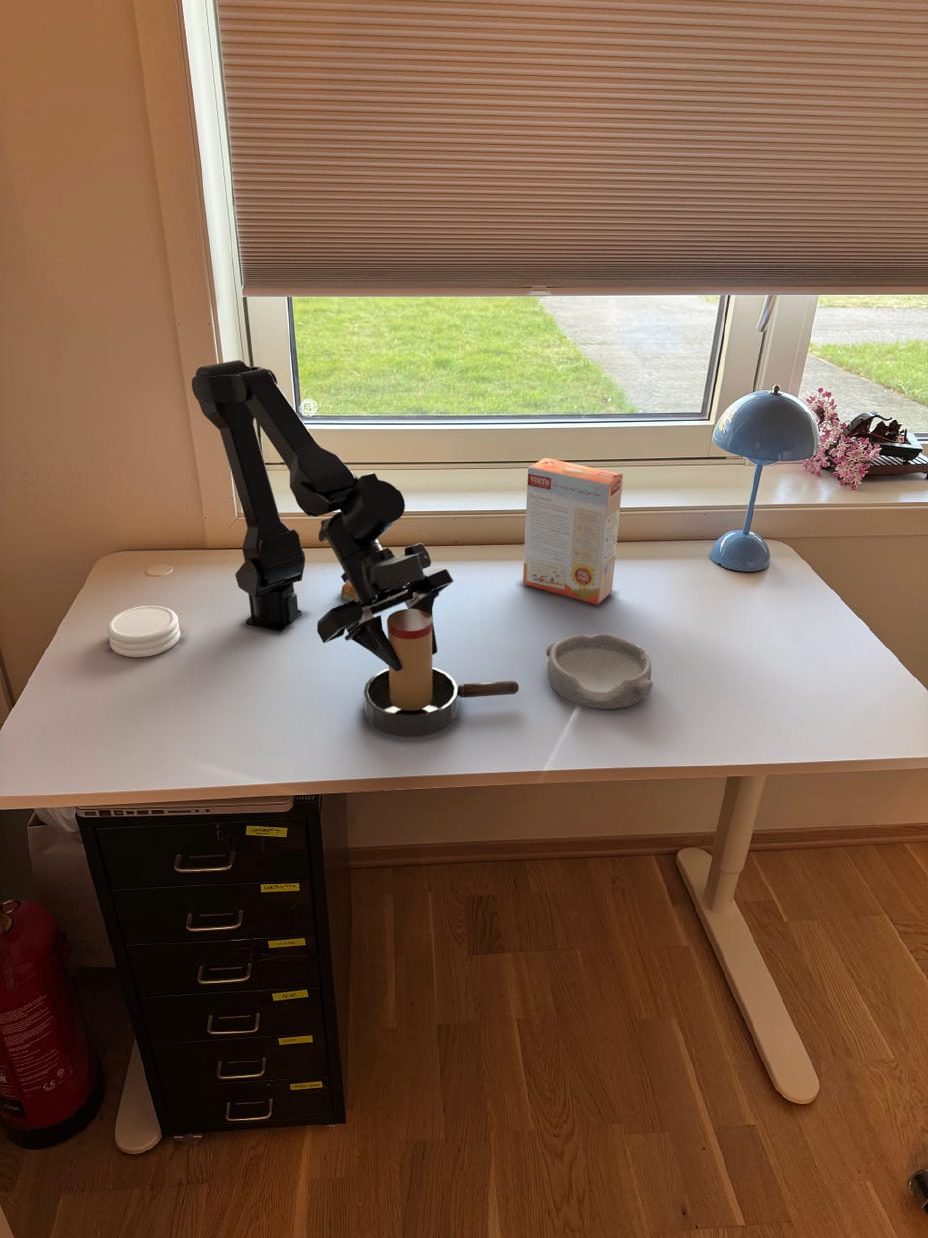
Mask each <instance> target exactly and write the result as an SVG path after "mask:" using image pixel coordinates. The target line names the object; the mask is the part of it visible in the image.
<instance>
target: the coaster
mask: <svg viewBox="0 0 928 1238" xmlns="http://www.w3.org/2000/svg"><path fill="white" fill-rule="evenodd" d="M106 631H107V634H108V640H109V645H110V647H111V649H112V650H113V652H115V653H116V654H118V655H121V656H123V657H128V658H147V657H151V656H155V655H159V654H162V653H164V652H166V651H168V650H169V649H171V648H173V647H174V646H175V645H176V644H177V642H178V641H179V640H180V638H181V630H180V624H179V618H178V615H177V614H176V613H175V612H174V611H173V610H172V609H170V608H168V607H165V606H159V605H141V606H136V607H132V608H129V609H126V610H123V611H121V612H119V613H118V614H116V615H114V617H112V618H111V620H109V622H108V624H107V628H106Z"/></svg>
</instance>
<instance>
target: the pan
mask: <svg viewBox="0 0 928 1238" xmlns="http://www.w3.org/2000/svg"><path fill="white" fill-rule="evenodd" d="M363 704H364V706H363V707H364V713H365V717H366V720H367V721H368V722H369V723H370V725H371V726H372V727H374V729H376V730H378V731H380V732H381V733H385V734H386V735H387V734H388V735H391V736H395V737H402V738H419V737H425V736H430V735H433V734H436V733H438V732H441V731H442V730H444V729H446V728H447V727H449V726H450V725H451V724H452V723H453V722H454V720H455V719H456V717H457V715H458V711H459V696H458V684H457V682H456V680H455V679H454V678H453V677H452V676H451V675H450V674H449V673H448V672H446V671H444V670H442V669H440V668H437V667H434V666H432V701H431V703H430V704H429V705H428V706H427V707H425V708H423V709H419V710H414V711H407V710H402V709H399V708H397V707H395V706H394V705H392V703H391V701H390V687H389V667H388V668H385V669H382V670H380V671H379V672H377V673H375V674H374V675H372V676H371V677H370V679H368V681H367V682H366V683H365V686H364V689H363Z"/></svg>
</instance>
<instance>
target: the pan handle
mask: <svg viewBox="0 0 928 1238" xmlns="http://www.w3.org/2000/svg"><path fill="white" fill-rule="evenodd" d="M457 687H458V698H461V699H465V698H466V699H467V698H480V697H496V696H509V695H515V694H517V693H518V692H519V691H520V686H519V683H517V681H515V680H505V681H504V680H503V681H490V682H474V683H462V684H459V685H457Z"/></svg>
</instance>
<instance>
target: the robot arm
mask: <svg viewBox="0 0 928 1238" xmlns="http://www.w3.org/2000/svg"><path fill="white" fill-rule="evenodd" d="M191 390H192V393H193V395H194V397H195V399H196V400H197V401H198V404H199V407H200V410H201V412H202V415H203V416H204V417H205V418H206V419H207V420H208V421H209V422H210V423H212V424H213V425H214V426H215V428H217V429H218V430H219V433H220V436H221V440H222V443H223V447H224V450H225V454H226V457H227V461H228V464H229V468H230V471H231V475H232V478H233V482H234V485H235V488H236V489H235V490H236V492H237V495H238V499H239V502H240V506H241V510H242V513H243V517H244V520H245V523H246V531H245V536H244V539H243V543H242V547H241V549H242V554H243V559H244V561H243V563H242V565H241V566H240V567H239V569H238V570H237V571H236V573H234V576H235V580H236V582H237V586H238V588H239V589H240V590H242V591H244V592H245V593H246V594H248V601H249V610H250V617H248V618H247V619H246V620H245V621H244V623H245V625H246V626H252V627H256V628H260V629H264V630H269V631H273V632H278V633H282V632H283V631H285V630H286V629H287V628H288V627H289V626H291V624H292V623H294V622H295V621H296V620H297V619H298V618H299V617H301V616H302V615H303V613H302V610H300V609H299V605H298V595H297V593H296V592H295V587H294V585H295V583H297V582H298V583H299V582H302V581H303V577H304V576H303V575H304V570H305V565H306V554H305V552H304V550H303V547H302V545H301V540H300V534H299V533H298V531H297V530H296V529H290V528H289V527H288V525H286V523H284V522H283V521H282V520H281V517H280V513H279V509H278V506H277V503H276V499H275V495H274V492H273V488H272V484H271V481H270V478H269V474H268V470H267V466H266V463H265V459H264V455H263V452H262V449H261V445H260V442H259V438H258V435H257V430H256V427H255V420H256V422H257V424H258V425H259V426H260V428H261V429H262V431H263V433H264V434H265V435H266V437H267V438H268V440H269V441H270V443H271V444H272V446H273V447H274V449H275V450H276V452H277V453H278V454H279V456H280V458H281V459H282V460H283V463H284V464H285V465H286V468H287V469H288V471H289V488H290V490H291V492H292V494H293V496H294V499H295V501H296V504H297V506H298V507H299V508H300V509H301V510H302V512H304V514H305V515H306V516H308V517H315V518H317V517H320V516H324V515H328V514H330V513H334V512H336V511H339V510H340V511H339V512H337V513H335V514H334V515H333V516H332V517H329V518H326V519H322V520H321V521H320V530H319V531H318V541H319V542H322V543H323V542H325V541H328V543H329V545H330V548H331V549H332V551H333V553H334V555H335V556H336V558H337V560H338V562H339V564H340V566H341V568H342V570H343V573H342V574H341V575H340V578H341V579H342V581H343V583H344V584H345V583H346V582H348V581H350V583H351V585H352V587H353V589H354V591H355V593H356V595H357V596H358V598H359V601H358V602H356V601H354V600H352V601H351V600H349V601H347V602H345V603H342V604H340V605H337V606H335V607H333V608H330V609H329V610H328V611H327V612H326V613H325V614H323V616H322V617H321V618H320V619H319V620H318V621H317V623H316V624H317V625H316V628H317V629H316V630H317V634H318V635H319V637H320V639H321V641H322V643H323V644H327V643H329V642H332V641H333V640H336V639H338V638H340V637H343V636H344V634H345V631H346V632H347V635H346V636H344V640H345V642H348V641H353V642H355V643H356V644H358V645H360V646H361V647H363V648H364V649H366V650H368V651H369V652H370V653H372V654H373V655H375V656H376V657H377V658H378V659H379V660H381V661H382V662H384V664H386V665H387V666H388V667H389V666H390V667H391V668H393V669H394V670H395V671H400V670H401V669H402V666H401V664H400V661H399V659H398V657H397V655H396V653H395V651H394V649H393V647H392V646H391V644H390V642H389V640H388V636H387V634H386V633H385V631H384V628H383V620H382V615H381V614H380V613H383V612H386V611H387V610H390V609H392V608H394V607H398V606H399V605H402V604H405V606H406V609H418V610H422V611H425V612H427V613H428V614H430V615H431V617H432V620H433V621H434V618H433V617H434V614H433V609H434V603H435V599H437V598H438V597H440V593H441V592H442V591H444V590H445V589H446V588H448V587H449V586H451V584H453V583H454V582H455V580H454V579H453V577H452V575H451V574H450V571H449V570H448V569H447V568H445V567H443V566H441V565H438V566H435V567H433V568H430V569H428V570H425V569H427V568H429V567H431V564H432V561H431V556H430V554H429V552H428V550H427V549H426V547H425V546H424V544H423V543H422V542H417V543H414V544H411V545H408V546H406V547H404V554H402V555H399V556H395V554H394V553H393V550H391V549H390V548H389V547H386V548H383V547H382V545H381V543H380V541H379V539H380V538H381V537H382V536H384V535H385V534H386V532H387V531H388V530H389V529H391V527H392V526H394V525H395V523H397V521H398V520H400V519H401V518H402V516H403V515H404V512H405V510H406V503H405V498H404V495H403V494H402V492H401V491H400V490H399V489H397V488H396V486H394V485H392V483H390V482H387V481H385V480H380V479H379V478H378V476H377V474H376V472H370V473H367V474H364V475H361V476H358V475H356V474H355V473H354V472H352V470H351V469H350V467H348V466H347V464H345V462H344V461H343V460H342V459H341V457H339V455H337V454H335V453H334V452H331V451H329V450H328V449H325V448H323V447H321V445H320V444H319V443H318V442H317V441H316V439H315V438H314V436H313V435H312V433H311V432H310V431H309V429H308V428H307V426H306V425H305V423H304V422H303V420H302V418H300V415H299V414H298V413H297V412H296V410H295V408H294V407H293V406H292V404H291V403H290V402H289V400H288V399H287V397H286V396H285V394H284V393H283V390H281V388H280V387H279V385H278V380H277V377H276V375H275V373H274V372H273V371H272V370H271V369H268V368H265V367H264V368H262V366H248V365H247V364H246V363H245V362H244V361H243V360H241V359H236V360H231V361H225V362H220V363H214V364H209V365H204V366H199V367H198V368H197V369H196V371H195V376H193V377H192V379H191ZM424 570H425V571H424ZM378 614H379V615H378ZM375 615H377V616H375ZM434 625H435V624H433V628H432V656H433V655H435V654H437V653H438V645H437V639H436V638H437V637H436V632H435V626H434Z"/></svg>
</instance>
